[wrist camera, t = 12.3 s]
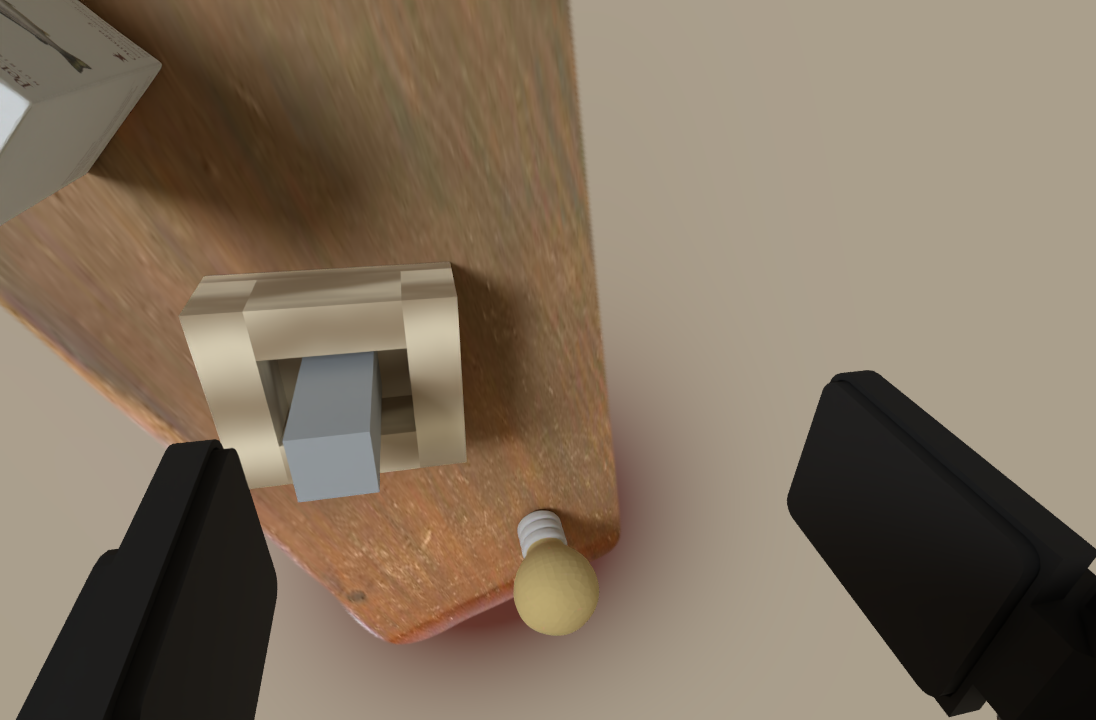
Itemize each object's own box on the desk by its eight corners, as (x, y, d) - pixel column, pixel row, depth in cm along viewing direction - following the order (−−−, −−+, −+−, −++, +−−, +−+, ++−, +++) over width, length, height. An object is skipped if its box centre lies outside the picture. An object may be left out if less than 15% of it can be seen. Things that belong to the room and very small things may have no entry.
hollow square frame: (204, 276, 34) (178, 316, 30) (449, 261, 37) (457, 296, 33) (252, 439, 41) (237, 490, 37) (459, 416, 44) (466, 462, 39)
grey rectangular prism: (307, 338, 37) (282, 441, 28) (374, 332, 38) (369, 431, 29) (318, 391, 39) (298, 502, 31) (382, 385, 40) (379, 491, 31)
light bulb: (487, 539, 51) (505, 647, 43) (523, 485, 48) (550, 589, 40) (550, 553, 54) (579, 658, 45) (587, 503, 51) (625, 604, 43)
